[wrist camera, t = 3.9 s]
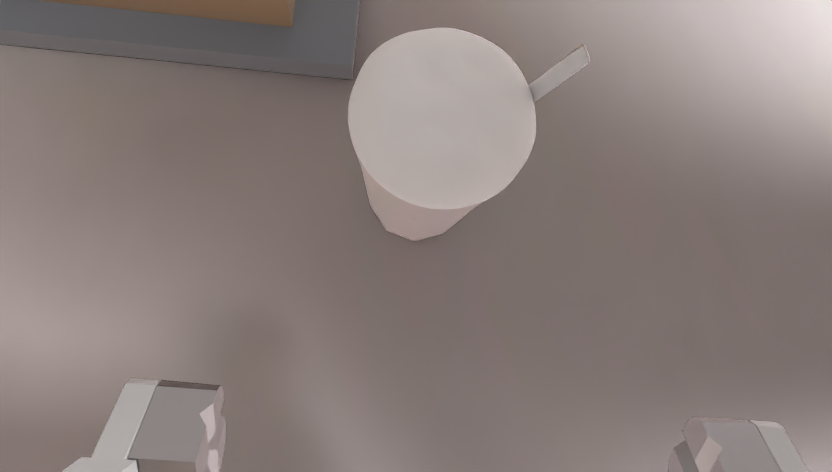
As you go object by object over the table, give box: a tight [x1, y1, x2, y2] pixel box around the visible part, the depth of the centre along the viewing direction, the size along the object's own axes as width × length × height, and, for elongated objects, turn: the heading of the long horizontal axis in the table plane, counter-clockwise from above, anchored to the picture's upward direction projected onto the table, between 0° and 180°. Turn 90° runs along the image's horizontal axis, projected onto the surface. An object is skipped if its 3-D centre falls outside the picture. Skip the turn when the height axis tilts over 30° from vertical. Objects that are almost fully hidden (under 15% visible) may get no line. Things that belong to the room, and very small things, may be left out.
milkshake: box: [348, 27, 591, 241], centre depth 20 cm, size 4×5×10 cm
